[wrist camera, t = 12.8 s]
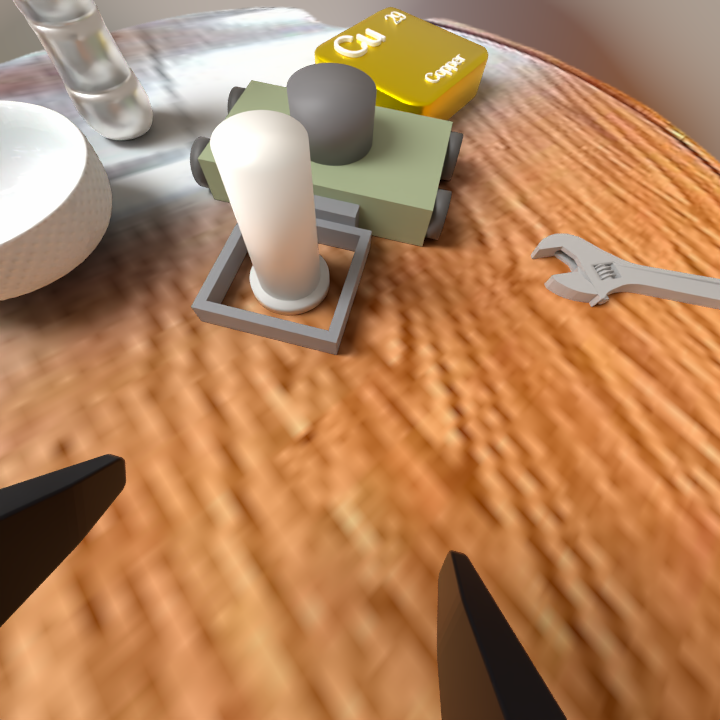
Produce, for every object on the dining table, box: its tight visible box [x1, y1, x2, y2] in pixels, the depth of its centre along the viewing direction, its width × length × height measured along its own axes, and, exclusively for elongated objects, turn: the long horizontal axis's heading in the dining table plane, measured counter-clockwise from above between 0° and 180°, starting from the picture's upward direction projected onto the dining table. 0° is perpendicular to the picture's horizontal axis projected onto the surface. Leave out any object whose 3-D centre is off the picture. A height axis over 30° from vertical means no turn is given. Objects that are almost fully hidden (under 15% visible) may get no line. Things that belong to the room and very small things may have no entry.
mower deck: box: [190, 63, 463, 355], centre depth 28 cm, size 24×22×8 cm
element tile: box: [315, 7, 488, 121], centre depth 39 cm, size 15×15×5 cm
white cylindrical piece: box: [210, 110, 330, 315], centre depth 23 cm, size 6×6×12 cm
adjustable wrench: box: [531, 234, 720, 309], centre depth 29 cm, size 25×6×2 cm, turn 75°
